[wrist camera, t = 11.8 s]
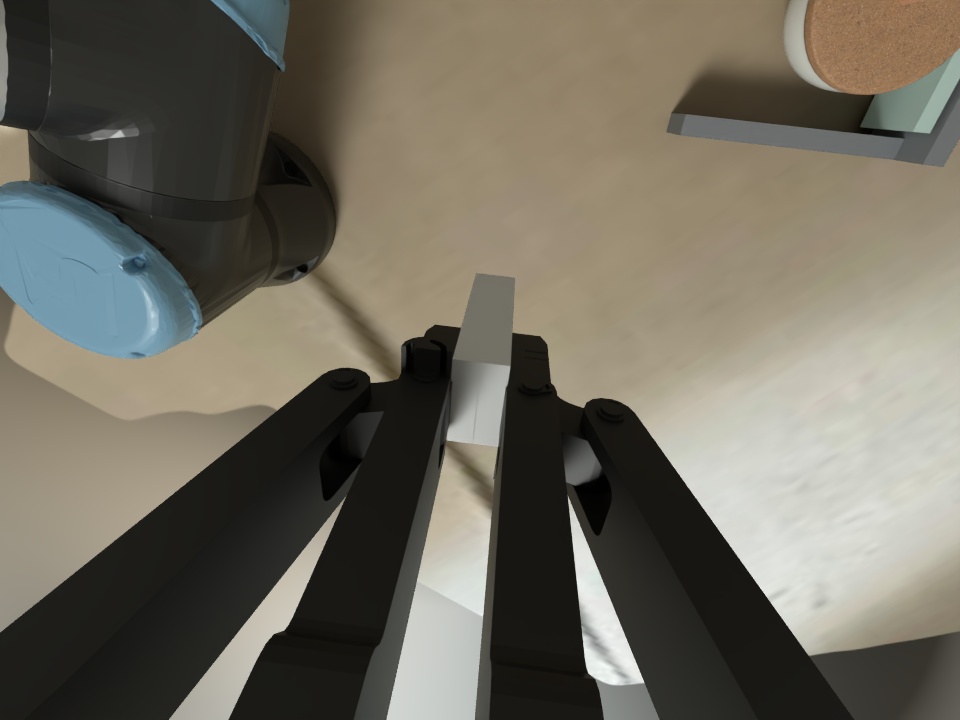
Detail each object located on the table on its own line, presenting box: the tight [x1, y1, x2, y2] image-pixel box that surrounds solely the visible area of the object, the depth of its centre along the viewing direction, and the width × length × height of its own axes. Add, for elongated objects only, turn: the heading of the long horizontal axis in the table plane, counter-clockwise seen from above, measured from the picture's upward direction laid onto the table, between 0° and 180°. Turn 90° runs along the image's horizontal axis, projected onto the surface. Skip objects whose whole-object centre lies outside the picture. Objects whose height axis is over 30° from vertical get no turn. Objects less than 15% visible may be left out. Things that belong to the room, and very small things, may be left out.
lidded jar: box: [783, 0, 960, 95], centre depth 31 cm, size 11×11×9 cm
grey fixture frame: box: [667, 79, 960, 167], centre depth 32 cm, size 18×18×7 cm
